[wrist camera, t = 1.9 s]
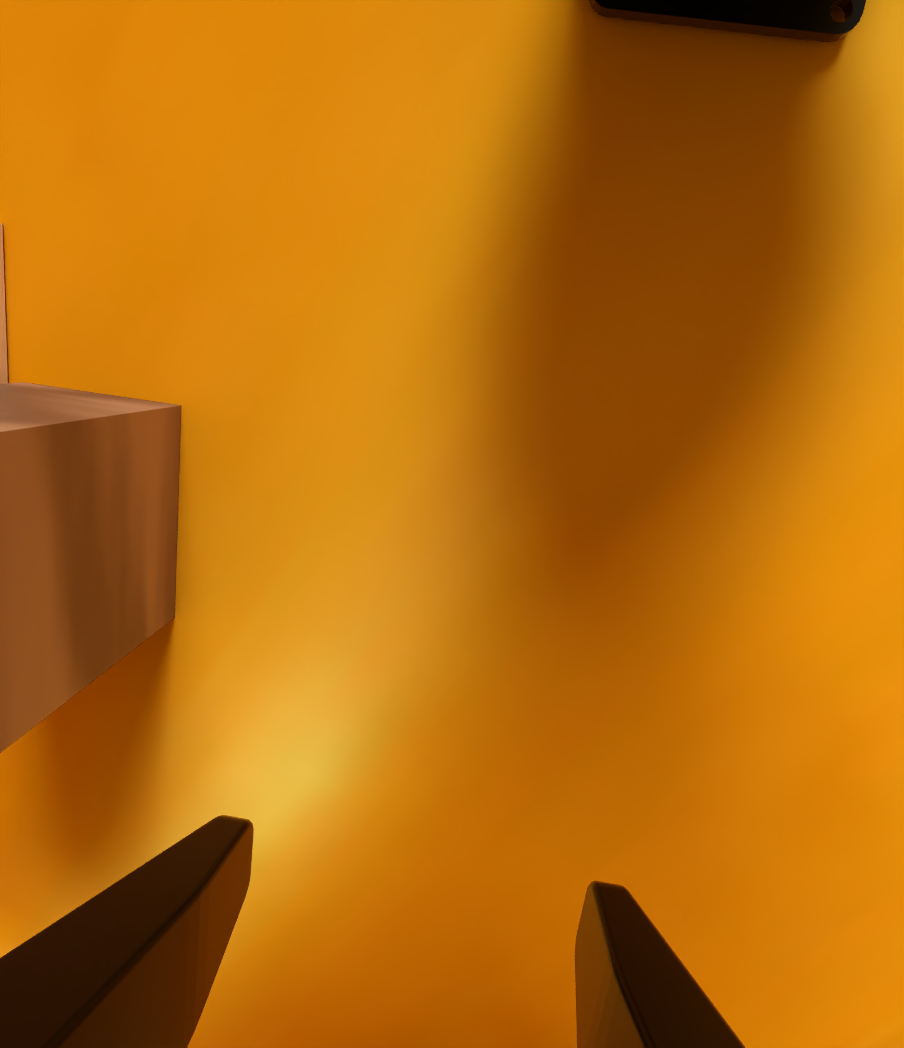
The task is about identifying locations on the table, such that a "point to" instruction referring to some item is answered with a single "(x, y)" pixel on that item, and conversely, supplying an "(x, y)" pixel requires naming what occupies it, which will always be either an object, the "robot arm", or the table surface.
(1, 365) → the mat
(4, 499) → the walnut block
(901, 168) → the table surface
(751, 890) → the table surface
